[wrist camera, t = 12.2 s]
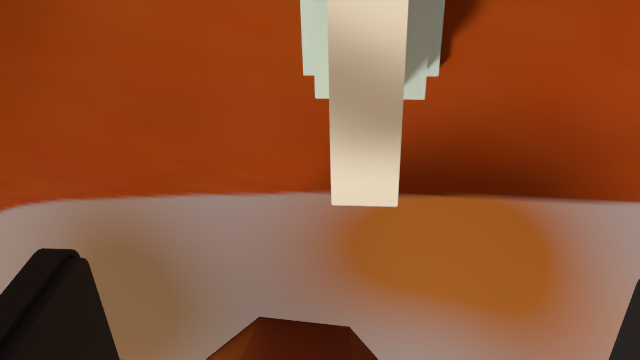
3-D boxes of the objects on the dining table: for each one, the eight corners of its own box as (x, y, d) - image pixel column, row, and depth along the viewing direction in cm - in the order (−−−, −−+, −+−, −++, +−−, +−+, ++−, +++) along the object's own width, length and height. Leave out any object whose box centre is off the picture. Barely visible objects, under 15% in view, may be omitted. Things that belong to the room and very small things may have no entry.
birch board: (347, -94, 28) (326, -47, 16) (397, -95, 28) (411, -48, 16) (348, 74, 33) (331, 205, 21) (390, 74, 33) (397, 206, 21)
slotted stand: (298, -93, 29) (286, -83, 26) (451, -96, 29) (462, -86, 25) (305, 69, 34) (296, 98, 30) (436, 70, 33) (444, 99, 30)
